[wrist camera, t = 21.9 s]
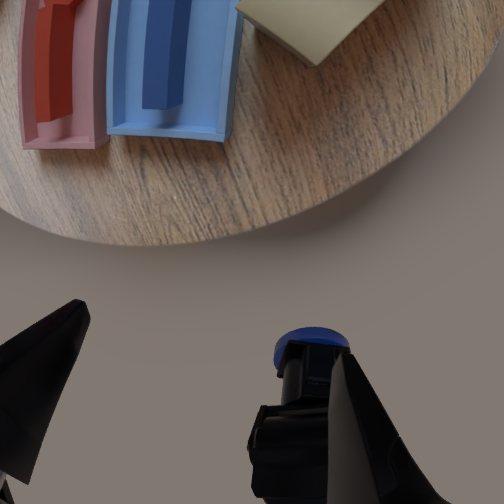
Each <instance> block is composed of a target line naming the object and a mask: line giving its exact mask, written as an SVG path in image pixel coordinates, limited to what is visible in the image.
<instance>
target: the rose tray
mask: <svg viewBox="0 0 504 504" xmlns="http://www.w3.org/2000/svg"><path fill="white" fill-rule="evenodd" d="M111 6H112V0H83V1H82V2H81V3H80V4H79V5H78V6H76V12H75V22H74V34H73V52H72V109H73V113H72V114H69V115H67V116H64V117H61V118H59V119H56V120H54V121H51V122H42V123H36V114H35V95H34V51H35V33H36V21H37V11H38V9H40V8H42V7H45V4H44V0H23V1H22V8H21V17H20V27H19V41H18V103H19V118H20V129H21V138H22V143H23V144H22V147H23V149H97V148H98V147H100V146H102V145H104V144H106V143H108V142H110V135H107V110H106V83H107V54H108V38H109V25H110V15H111Z"/></svg>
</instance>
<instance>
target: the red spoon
mask: <svg viewBox="0 0 504 504" xmlns="http://www.w3.org/2000/svg"><path fill="white" fill-rule="evenodd" d="M82 1H83V0H44V4H45V7H42V8H40V9H38V11H37V21H36V33H35V51H34V95H35V114H36V123H42V122H51V121H54V120H56V119H59V118H61V117H64V116H67V115H69V114H72V113H73V109H72V52H73V34H74V22H75V12H76V6H78V5H79V4H80V3H81V2H82Z"/></svg>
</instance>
